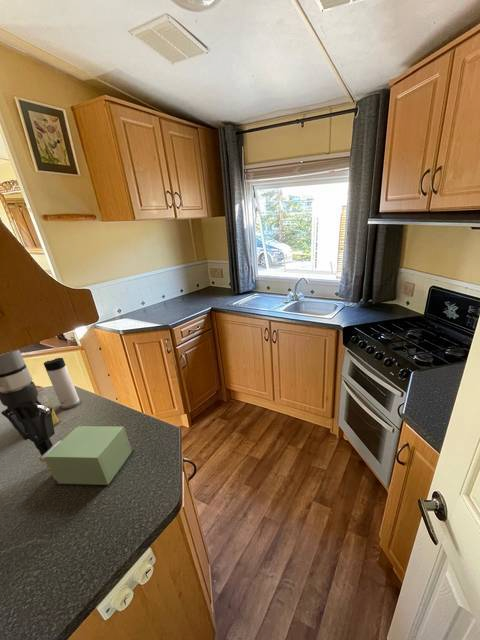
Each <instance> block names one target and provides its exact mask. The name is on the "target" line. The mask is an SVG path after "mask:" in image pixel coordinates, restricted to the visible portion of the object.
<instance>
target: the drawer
mask: <svg viewBox="0 0 480 640" xmlns="http://www.w3.org/2000/svg"><path fill="white" fill-rule="evenodd" d="M69 434H70V433H68V434H67V435H66V436H68V435H69ZM61 441H62V440H58V441H56V442H55V443H54V444H52V445H53V446H52V447H51V448H50V449H49V450H48V451H47V452H46V453H44V454H43V455H42V456H41V455H40V457H39V459H38V460H39V461H40V462H43V463H44V462H45V463H46V465H47V468H48V470H49V471H50V473H51V475H52V477H53V479H54V480H56V478H55V476H54V474H53V472H52V470H51V468H50V466H49V464H48V462H47V460H46V459H45V456H46V455H47V454H48V453H49V452H50V451H51V450H53V449H54V448H55V447H56V446H57V445H58V444H59V443H60V442H61Z"/></svg>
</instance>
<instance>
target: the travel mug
mask: <svg viewBox="0 0 480 640" xmlns="http://www.w3.org/2000/svg"><path fill="white" fill-rule="evenodd" d="M43 367H44V369H45V371H46V373H47V376H48V378H49V381H50V382H51V385H52V387H53V389H54V392H55V395H56V396H57V400H58V402H59V404H60V406H61V408H62V409H72V408H74V407H77V406H78V405H79V404H80V403H81V400H80V397H79V395H78V393H77V390H76V387H75V385H74V382H73V380H72V377H71V375H70V372H69V369H68V367H67V364H66V363H65V360H64V358H63V357H56V358H54V359H51V360H46V361H44V362H43Z"/></svg>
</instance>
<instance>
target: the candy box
mask: <svg viewBox="0 0 480 640" xmlns="http://www.w3.org/2000/svg"><path fill="white" fill-rule="evenodd" d="M35 386H36V388H37V391H38V396H37V399H38V400H39V401H40V402H41V404H42V406H44V407H46V408H47V407H49V406H50V407H52V408H53V406H52V403H51V402H50V399H49V397H48V394H47V393H46V391H45V387H44V386H41V385H36V384H35ZM51 415H52V420H53V426H56V425H57V424H58V423H59V422H60V421H59V418H58V416H57V414H56V412H55V409H53V410H52V413H51Z"/></svg>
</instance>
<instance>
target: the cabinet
mask: <svg viewBox="0 0 480 640" xmlns="http://www.w3.org/2000/svg"><path fill="white" fill-rule="evenodd" d="M68 434H69V435H68ZM68 434H67V435H68V436H67V435H66V436H65V437H64V438H63V439H62V440H60V441H61V442H60V443H59V444H58V445H57V446H56V447H55V448H54V449H53V450H51V451H50V452H49V453H48V454H47V455H46V456H45V459H46V460H47V462H48V464H49V466H50V468H51V470H52V472H53V474H54V476H55V478H56V479H55V480H56V483H57V484H58V485H59V484H63V485H95V486H96V485H97V486H100V485H101V486H102V485H103V486H109V485H110V483H111V482H112V480H113V479H114V478H115V476H116V475H117V474H118V472H119V471H120V470H121V468H122V466H123V465H124V464H125V462H126V461H127V459H128V458H129V456H130V455H131V454H132V453H133V450H132V448H131V447H132V446H131V445H130V442H129V438H128V435H127V432H126V430H125V426H118V425H117V426H111V425H110V426H106V425H105V426H104V425H103V426H99V425H95V426H94V425H92V426H91V425H89V426H87V425H85V426H84V425H76V427H75V428H73V429H72V430H71V431H70V432H69V433H68Z"/></svg>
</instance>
